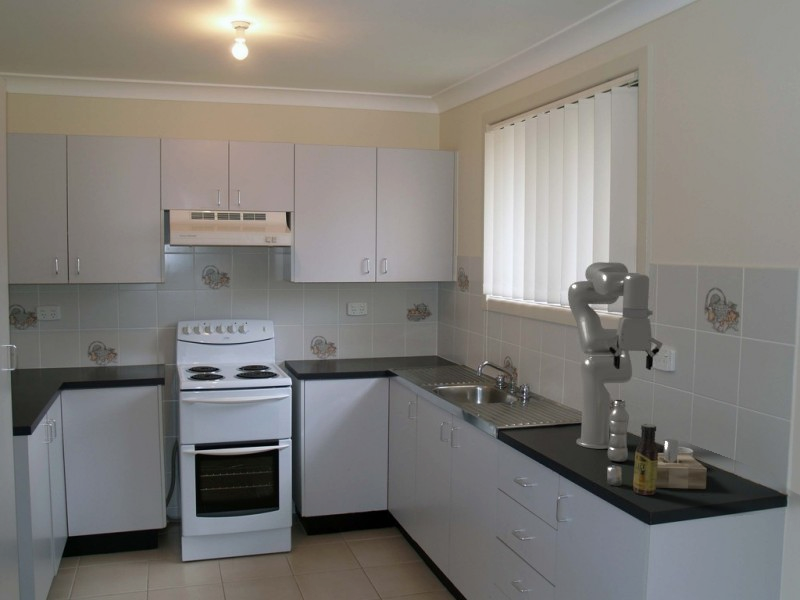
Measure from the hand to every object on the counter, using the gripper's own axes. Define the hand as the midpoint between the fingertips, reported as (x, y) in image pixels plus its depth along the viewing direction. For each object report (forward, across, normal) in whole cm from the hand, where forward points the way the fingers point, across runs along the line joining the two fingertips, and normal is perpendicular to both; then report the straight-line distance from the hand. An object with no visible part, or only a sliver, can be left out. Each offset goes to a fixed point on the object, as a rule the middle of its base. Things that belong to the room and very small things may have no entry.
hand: (632, 368), depth 239 cm
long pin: (+32, -10, +9) cm, 35 cm away
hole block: (+32, -10, +9) cm, 35 cm away
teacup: (+32, -17, -6) cm, 37 cm away
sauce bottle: (+32, +1, +22) cm, 39 cm away
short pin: (+32, +8, +15) cm, 36 cm away
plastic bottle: (+32, +1, -10) cm, 34 cm away
